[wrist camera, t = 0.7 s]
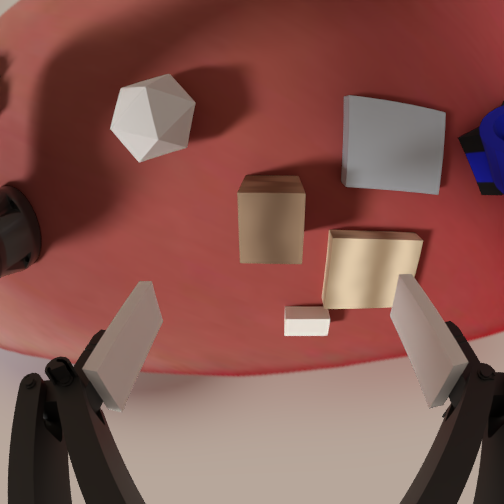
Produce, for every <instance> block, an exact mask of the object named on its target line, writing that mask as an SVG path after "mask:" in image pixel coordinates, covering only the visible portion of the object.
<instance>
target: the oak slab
mask: <svg viewBox="0 0 504 504" xmlns="http://www.w3.org/2000/svg"><path fill="white" fill-rule="evenodd" d="M422 244H423V240H422V239H421V238H420V237H419V236H418V235H417V234H416V233H412V232H387V231H358V230H329V237H328V248H327V257H326V267H325V275H324V284H323V292H322V301H323V306H324V309H354V308H386V307H392V305H393V301H394V296H395V292H396V287H397V282H398V277H399V274H412V275H413V277H415V273H416V269H417V266H418V261H419V257H420V253H421V249H422Z"/></svg>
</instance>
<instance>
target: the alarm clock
mask: <svg viewBox="0 0 504 504" xmlns="http://www.w3.org/2000/svg"><path fill="white" fill-rule="evenodd" d="M458 139H459V141H460V143H461V146H462V148H463V150H464V152H465V154H466V157H467V159H468V161H469V164H470V166H471V168H472V171H473V173H474V176H475V178H476V181H477V184H478V186H479V189H480V192H481V195H503V194H504V102H503V104H502V105H501V107H498V108H496V109H494V110H493V111H491V112H489V113H488V114H487V115H486V116H485V117H484V118H483V120H482V122H481V124H480V127H478V128H477V129H475V130H473V131H471V132H469V133H467V134H465V135H463V136H461V137H459V138H458Z"/></svg>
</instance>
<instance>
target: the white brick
mask: <svg viewBox="0 0 504 504" xmlns="http://www.w3.org/2000/svg"><path fill="white" fill-rule="evenodd" d="M329 324H330V315H329V311H328V309H324V306H316V307H302V306H285V317H284V336H327V335H328V330H329Z"/></svg>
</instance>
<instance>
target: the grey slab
mask: <svg viewBox="0 0 504 504" xmlns="http://www.w3.org/2000/svg"><path fill="white" fill-rule="evenodd" d="M445 118H446V113H445V112H441V111H437V110H433V109H429V108H425V107H420V106H415V105H410V104H405V103H400V102H394V101H388V100H382V99H375V98H368V97H360V96H352V95H348V96H345V97H344V126H343V155H342V174H341V182H342V183H343V184H344V185H345V186H346V187H355V188H370V189H384V190H396V191H407V192H417V193H427V194H436V195H438V193H439V186H440V179H441V171H442V162H443V151H444V138H445Z"/></svg>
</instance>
